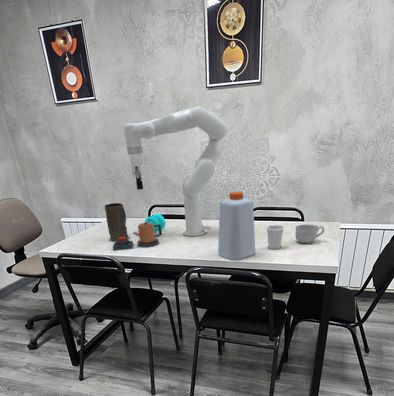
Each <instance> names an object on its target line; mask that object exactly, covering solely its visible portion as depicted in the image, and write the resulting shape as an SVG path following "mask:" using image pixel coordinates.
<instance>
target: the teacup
mask: <svg viewBox="0 0 394 396" xmlns="http://www.w3.org/2000/svg"><path fill="white" fill-rule="evenodd" d="M320 229H321V232H320V233H318V232H319V230H320ZM324 233H325V227H324V226H322V225H320V226H318V225H316V224H308V223H307V224H298V225H296V226H295V240H296V241H297V242H298V243H300V244H310V243H313V242H314V241H315V240H317V238H319V237H320V236H322V235H323V234H324Z"/></svg>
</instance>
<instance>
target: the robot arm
mask: <svg viewBox="0 0 394 396" xmlns="http://www.w3.org/2000/svg"><path fill="white" fill-rule="evenodd" d="M123 128H124V129H123V130H124V137H125V143H126V152H127V155H128V156H129V157H130V158H129V159H130V167H131V168H130V169H131V176H133V177H134V176H135V184H136V189H137V190H143V189H144V184H143V180H142V175H143V164H142V158H141V157H142V156H141V155H143V146H142V145H143V144H142V139H144V140H145V139H146V140H150V139H152V138H154V137H158V136H163V135H167V134H176V133H179V132H183V131H187V130H192V129H194V128H198V129H200V130H201V131H203V132H204V133H206V134H207V136H208V143H207V145H206V147H205V149H204V150H203V151H202V153H201V154H200V156H199V157H198V159H197V160H196V162H195V163H194V170H193V171H192V172H191V174H188V175H186V176H185V177H184V178H183V180H182V184H181V189H182V196H183V208H184V218H185V230H184V231H183V235H184V236H187V237H198V236H202V235H205V234H206V231H209V230H211V226H210V225H203V219H202V199H201V193H202V192H203V190H204V189H205V188H206V186H207V185H208V184H209V182H210V180H211V179H212V178H213V176H214V175H215V170H216V168H215V167H216V164H217V161H218V160H219V158H220V157H221V155H222V153H223V151H224V147H225V137H226V134H227V132H228V131H227V130H228V127H227V124H226V122H224V121H223V120H222V119H220V118H219V117H217V116H216V115H215V114H213V113H212V112H210V111H209V110H207V109H206V108H205V107H203V106H201V105H197V106H195V107H190V108H187V109H183V110H179V111H176V112H172V113H169V114H167V115H164V116H162V117H159V118H155V119H151V120H147V121H142V122H127V123H125V124H124V125H123Z"/></svg>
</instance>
